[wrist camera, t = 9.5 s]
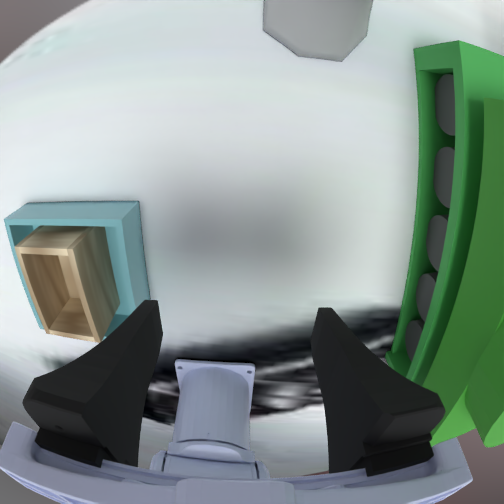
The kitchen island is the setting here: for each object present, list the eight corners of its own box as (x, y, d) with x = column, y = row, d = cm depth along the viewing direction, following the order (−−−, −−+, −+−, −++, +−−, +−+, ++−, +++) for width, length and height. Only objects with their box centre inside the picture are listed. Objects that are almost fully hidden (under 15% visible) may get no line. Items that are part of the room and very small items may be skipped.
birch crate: (103, 217, 21) (72, 249, 16) (120, 303, 24) (101, 342, 20) (48, 218, 20) (14, 246, 16) (69, 298, 24) (46, 333, 20)
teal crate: (153, 318, 26) (144, 345, 23) (55, 306, 25) (40, 328, 22) (138, 201, 21) (121, 219, 18) (27, 202, 20) (3, 219, 17)
